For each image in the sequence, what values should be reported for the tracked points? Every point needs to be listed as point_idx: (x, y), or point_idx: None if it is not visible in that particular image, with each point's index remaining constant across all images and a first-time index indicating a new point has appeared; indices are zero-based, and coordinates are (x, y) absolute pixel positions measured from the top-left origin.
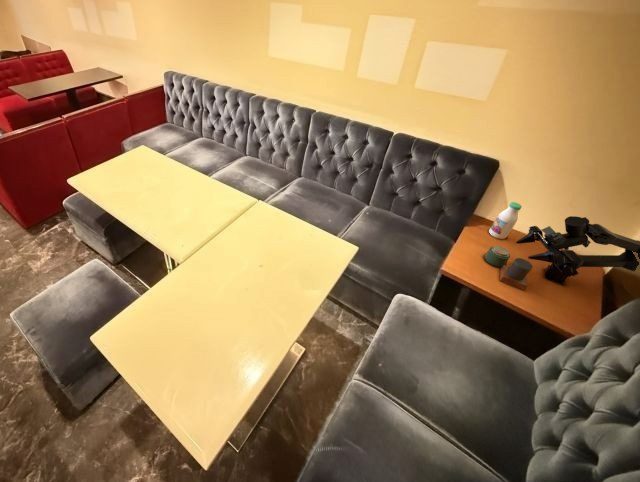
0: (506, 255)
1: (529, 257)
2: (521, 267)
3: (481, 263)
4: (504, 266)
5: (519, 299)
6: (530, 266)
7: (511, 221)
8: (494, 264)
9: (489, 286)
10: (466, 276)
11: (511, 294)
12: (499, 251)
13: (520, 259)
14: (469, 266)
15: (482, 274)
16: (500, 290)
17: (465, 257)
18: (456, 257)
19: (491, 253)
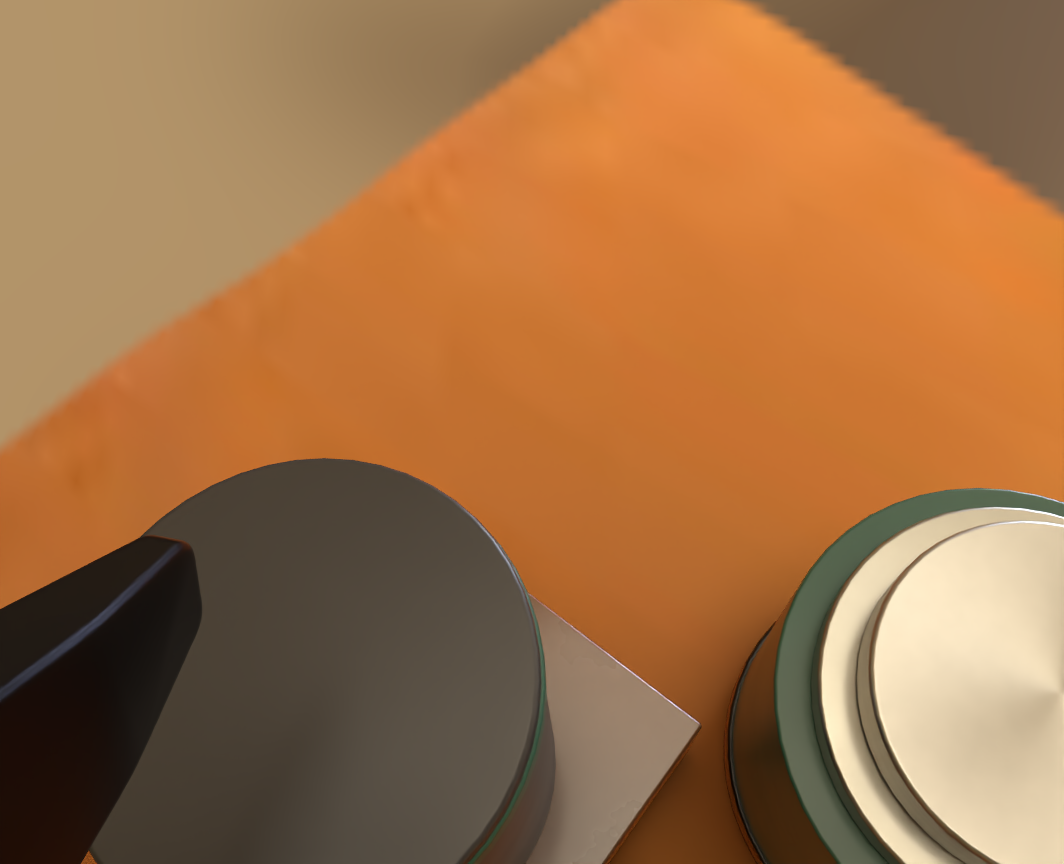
0: (872, 754)
1: (128, 566)
2: (185, 515)
3: (818, 471)
4: (645, 701)
5: (6, 584)
6: (133, 804)
7: None
8: (767, 634)
9: (319, 300)
10: (527, 111)
11: (119, 525)
12: (982, 592)
13: (469, 704)
14: (730, 245)
15: (557, 339)
16: (223, 408)
17: (944, 291)
18: (923, 164)
19: (957, 497)
